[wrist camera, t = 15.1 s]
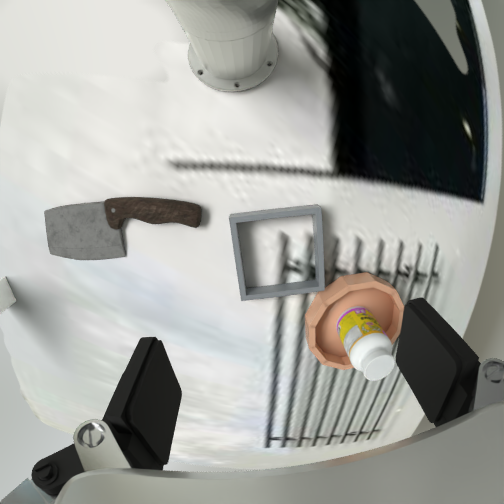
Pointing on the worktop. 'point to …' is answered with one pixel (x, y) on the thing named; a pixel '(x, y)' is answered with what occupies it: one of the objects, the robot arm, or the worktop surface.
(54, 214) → the cleaver
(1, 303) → the milk
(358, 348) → the supplement bottle
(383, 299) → the bowl
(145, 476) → the robot arm
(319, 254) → the grey square frame
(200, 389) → the worktop surface
